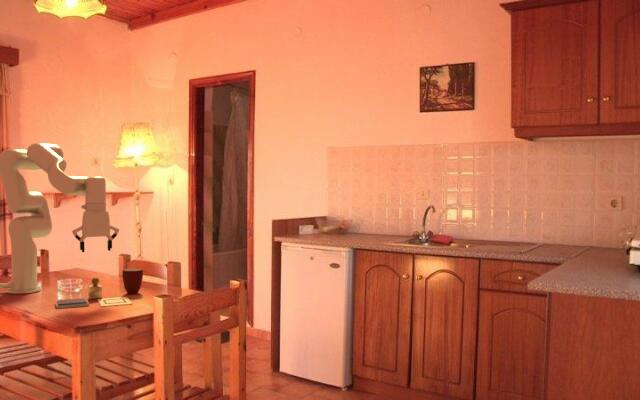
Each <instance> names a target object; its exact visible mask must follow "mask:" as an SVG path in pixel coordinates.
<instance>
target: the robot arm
mask: <svg viewBox="0 0 640 400" xmlns="http://www.w3.org/2000/svg"><path fill="white" fill-rule="evenodd" d="M66 167H67V162H66V160H65V158H64V152H63V149H62V148H61V147H60V146H59V145H57V144H54V143H43V142H35V143H32V144H30V145H29V146H28V147H27V148H26V149H22V148H8V149H5V150H3V151H2V152H1V153H0V179H1V183H2V185H3V186H2V187H3V191H4V195H5V199H6V204H7V208H8V210H9V212H10V213H12V214H17V215H21V214H22V215H24V214H25V215H26V214H30V215H26V216H17V217H14V218H12V219H11V221H10V222H9V224H8V234H9V237H10V238H9V239H10V247H11V248H10V249H11V250H10V251H11V254H10V255H11V280H10V281H8V282H5V283H3V282H2V283H1V282H0V289H6V288H7V293H8V294H14V295H20V294H21V295H22V294H32V293H37V292H41V291H42V287H41V286H40V285H39V286H38V249H37V248H38V247H37V245H36V243H35V241H34V239H39V238H45V237H48V236H49V235H50V234H51V232H52V229H53V223H52V218H51V214H50V209H49V204H48V200H47V198H46V197H45V195H44V194H43V193H41V192H40V191H35V190H34V191H33V190H32V191H29V190H28V186H27V181H26V179H25V177H24V176H23V175H22V173H20V171H19V170H32V171H34V170H35V171H36V170H38V171H39V170H42V171H44V172H45V173H46V174H47V178H48V181H49V184H50V185H51V186H52V187H53V188H54V189H55V190H57V191H58V192H60V194H63V195H66V196H84V198H85V199H84V201H85V203H84V204H82V205H81V209H83V210H84V211H83V213H82V219H81V220H82V221H81V226H79V227H77V228H75V229H73V230H72V231H71V232H72V234H73V236H74V238H75V239H76V240H78V241H79V251H81V253H85V239H86V238H97V237H98V238H99V237H100V238H101V237H106V238H107V239H108V240H107V251H109V252H111V249H113V240H114V239H115V238H116V237H117V235H118V234H119V231H120V229H118V228H117V227H115V226H112V225H111V221H110V215H109V211H107V208H106V207H107V205H106V204H107V199H106V198H107V194H106V192H107V191H106V190H107V189H106V179H105V178H104V176H81V175H79V176H78V175H77V176H76V175H68V174H66V173H65V171H66ZM111 230H112V231H113V234H111ZM80 231H81V234H82V235H81V236H80V235H79V234H78V233H79V232H80Z"/></svg>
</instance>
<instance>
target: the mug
mask: <svg viewBox="0 0 640 400" xmlns="http://www.w3.org/2000/svg"><path fill="white" fill-rule="evenodd" d="M121 275H122V281H123V287H124V289H125V291H126V293H127V294H128V295H136V294H138V293H139V291H140V290H141V287H142V281H143V277H144V271H143V268H139V267H138V268H137V267H134V268H132V267H131V268H130V267H129V268H124V269H122V274H121Z"/></svg>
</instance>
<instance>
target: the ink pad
mask: <svg viewBox="0 0 640 400" xmlns="http://www.w3.org/2000/svg"><path fill="white" fill-rule="evenodd" d="M54 303H55V309H59V310H60V309H69V308H79V307H80V308H81V307H82V306H83V307H90V302H89V299H87V298H85V297H82V298H69V299H58V300H56V301H55V302H54ZM83 307H82V308H83Z"/></svg>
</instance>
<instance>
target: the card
mask: <svg viewBox="0 0 640 400" xmlns="http://www.w3.org/2000/svg"><path fill="white" fill-rule="evenodd" d="M96 301H97V302H98V304H99V306H101V307H103V306H106V307H117V306H127V305H133V302H132V301H131V300H130V299H129V298H128V297H127V296H120V297H109V298H107V297H106V298H102V299H97V300H96ZM116 305H117V306H116ZM103 308H104V307H103Z"/></svg>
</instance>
